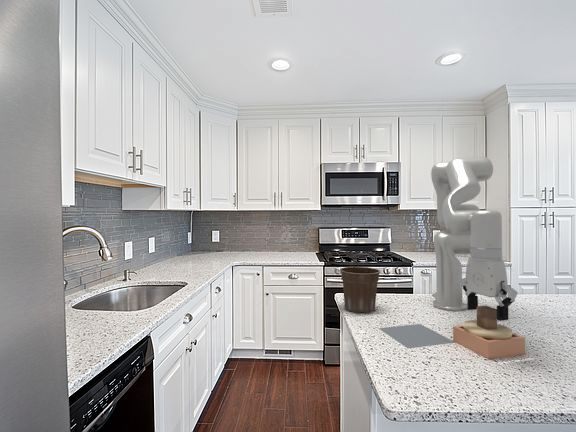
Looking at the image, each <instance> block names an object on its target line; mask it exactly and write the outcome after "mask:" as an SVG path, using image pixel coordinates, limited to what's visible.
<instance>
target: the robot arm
mask: <svg viewBox="0 0 576 432" xmlns="http://www.w3.org/2000/svg"><path fill="white" fill-rule="evenodd" d="M430 172H431V173H430V177H431V182H432V185H433V187H434V190H435V193H436V217H437V218H436V219H437V224H438V225H439V226H440V227H443V228H445V229H446V230H441V231H437V232H436V233H435V234H434V235H433V245H434V252H435V266H436V268H435V269H436V276H435V277H436V281H435V282H436V291H435V292H434V293H432V294H431V297H433V298H434V299H435V300H433V301H432V306H433V307H435V308H437V309H440V310H447V311H454V312H457V311H459V312H460V311H465V310H468V311H474V310H476V311H477V307H478V306H479V298H478V295H480V296H484V297H488V298H494V299H495V301H496V302H497V305H496V309H497V322H498V321H499V322H502V321H508V320H509V307H510V306H511V305H512V304H513V303H514V302H515V299H516V298H517V296H518V294H519V293H518V292H517V290H516V289H514V288H513V287H512V286H510V284H508V275H507V268H506V264H505V260H503V227H502V226H503V223H502V222H503V217H502V214H501V212H500V211H498V210H489V209H488V210H487V209H486V210H482V209H480V208H479V206H477V205H476V204H472V203H471V204H469V203H467V204H465V203H466V202H469V201H471V200H473V199H475V198H477V197H478V196H479V194H480V193H481V189H482V188H481V185H480V183H479V182H485V181H488V180H490V178H491V177H492V176H493V173H494V165H493V163H492V161H491V160H490V159H489V158H488V157H486V156H474V157H473V156H472V157H471V156H469V157H459V158H458V157H457V158H454V159H452V160H450V161H443V162H439V163H435V164H434V165H432V167H431V171H430ZM456 255H470V256H469V257H468V258H467V264H466V269H465V277H463V265H462V262H461V261H460V259H459V258H457V256H456ZM463 291H464V292H465V293H464V294H465V296H466V298H467V303H466V304H465V303H463Z"/></svg>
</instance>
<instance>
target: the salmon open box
mask: <svg viewBox="0 0 576 432" xmlns="http://www.w3.org/2000/svg"><path fill="white" fill-rule="evenodd" d="M452 335H453V336H452V339H453V340H452V341H454V342H456V344H458V345H459V346H462V347H463V348H466V349H467V350H470V351H472V352H473V353H475V354H477V355H479V356H481V357H484V358H485V359H486V360H493V359H494V360H495V359H500V358H501V359H502V358H507V357H513V356H522V355H526V337H524V336H522V335H520V334H517V333H516V332H515V333H514V332H512V338H510V339H506V340H495V339H487V338H482V337H478V336H475V335H472V334H470V333H468V332H466V331H465V330H464V329H463V324H461V325H460V324H459V325H453V326H452Z"/></svg>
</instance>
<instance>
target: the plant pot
mask: <svg viewBox="0 0 576 432" xmlns="http://www.w3.org/2000/svg"><path fill="white" fill-rule="evenodd" d="M339 271H340V276H341V280H342V288H343V289H342V290H343V301H344V307H345V310H347V311H349V312H353V313H357V314H359V313H364V314H367V313H368V314H369V313H373V312H375V310H376V301H377V292H378V291H377V290H378V282H379V277H380V273H381V269H378V268H374V267H368V266H367V267H366V266H346V267H341V268H339Z"/></svg>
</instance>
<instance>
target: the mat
mask: <svg viewBox="0 0 576 432" xmlns="http://www.w3.org/2000/svg"><path fill="white" fill-rule="evenodd" d="M378 330H380V331H381V332H383V333H384V334H386V335H388V336H389V337H390V338H392V339H394V340H395V341H397V342H398V343H399V344H400V345H402V346H404V347H405V348H406V349H412V348H413V349H414V348H416V349H417V348H423V347H429V346H439V345H448V344H454V343H456V342H454V341H453V340H452V339H450V338H449V337H446V336H445V335H443V334H441V333H439V332H437V331H435V330H433V329H431V328H429V327H427V326H425V325H423V324H421V323H415V324H407V325H405V324H404V325H396V326H386V327H378ZM456 344H457V343H456Z"/></svg>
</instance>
